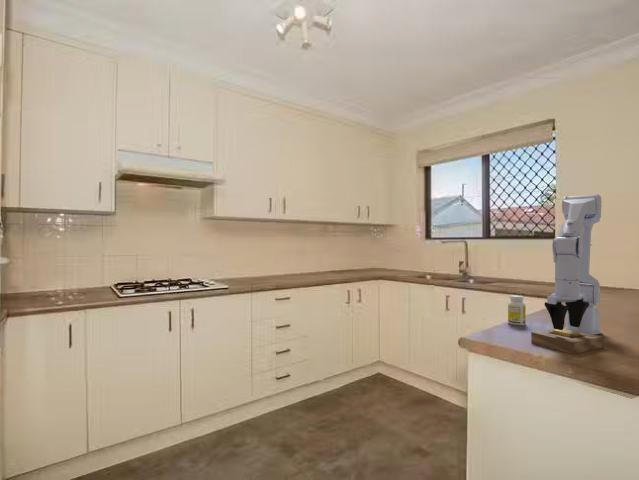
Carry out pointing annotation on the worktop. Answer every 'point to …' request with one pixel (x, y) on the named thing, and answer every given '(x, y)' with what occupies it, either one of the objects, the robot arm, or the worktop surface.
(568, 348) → the brown wooden frame
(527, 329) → the worktop surface
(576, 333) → the wooden block
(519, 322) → the supplement bottle
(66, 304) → the worktop surface
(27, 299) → the worktop surface
